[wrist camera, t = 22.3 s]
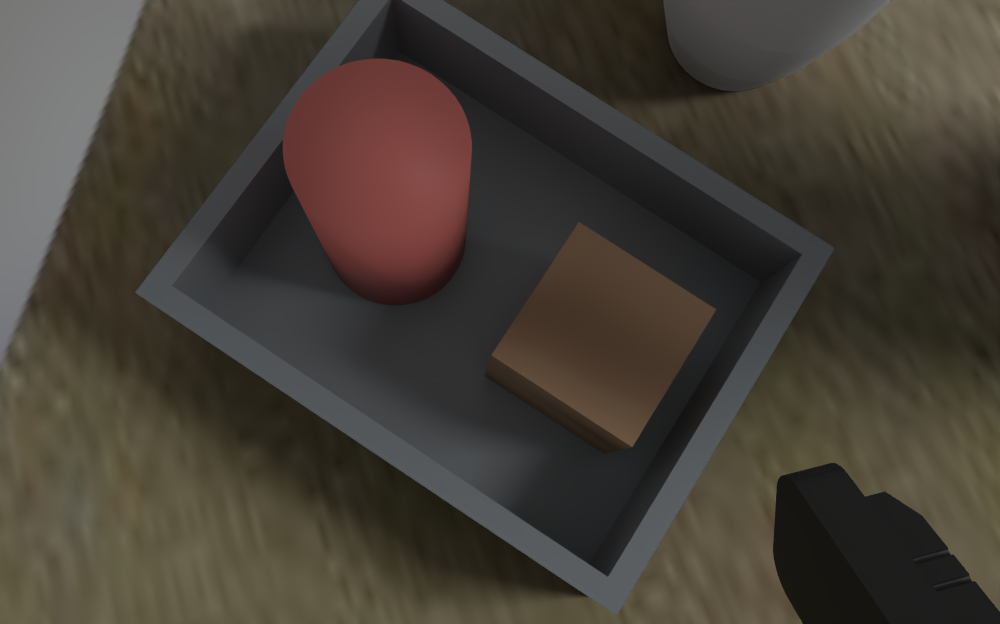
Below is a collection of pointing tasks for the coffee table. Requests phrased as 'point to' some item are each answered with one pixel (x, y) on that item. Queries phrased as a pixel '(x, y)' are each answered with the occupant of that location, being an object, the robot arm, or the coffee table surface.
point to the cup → (758, 36)
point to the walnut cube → (598, 342)
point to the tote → (498, 299)
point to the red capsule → (383, 176)
